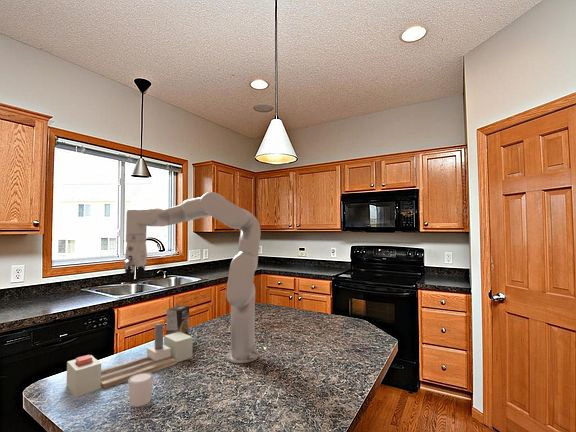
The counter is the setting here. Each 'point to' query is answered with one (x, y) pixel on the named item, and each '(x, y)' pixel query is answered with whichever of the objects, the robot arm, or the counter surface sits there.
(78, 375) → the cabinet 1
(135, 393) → the pale pink cylinder cup
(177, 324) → the coffee box
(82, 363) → the red block
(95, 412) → the counter surface
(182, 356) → the cabinet
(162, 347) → the carriage
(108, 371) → the rail track
